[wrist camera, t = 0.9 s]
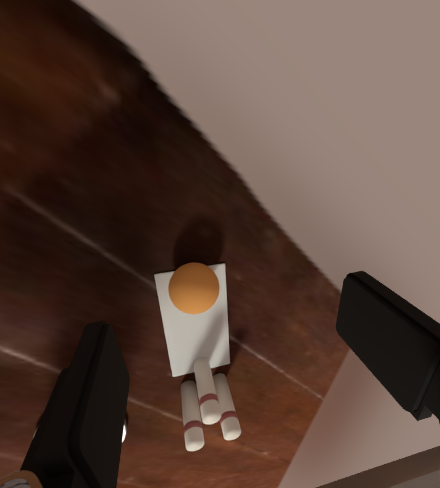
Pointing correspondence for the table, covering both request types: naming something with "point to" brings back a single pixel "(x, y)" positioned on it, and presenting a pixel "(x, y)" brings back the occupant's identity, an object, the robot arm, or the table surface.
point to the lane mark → (195, 328)
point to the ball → (193, 288)
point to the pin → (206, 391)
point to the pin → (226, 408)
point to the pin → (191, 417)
